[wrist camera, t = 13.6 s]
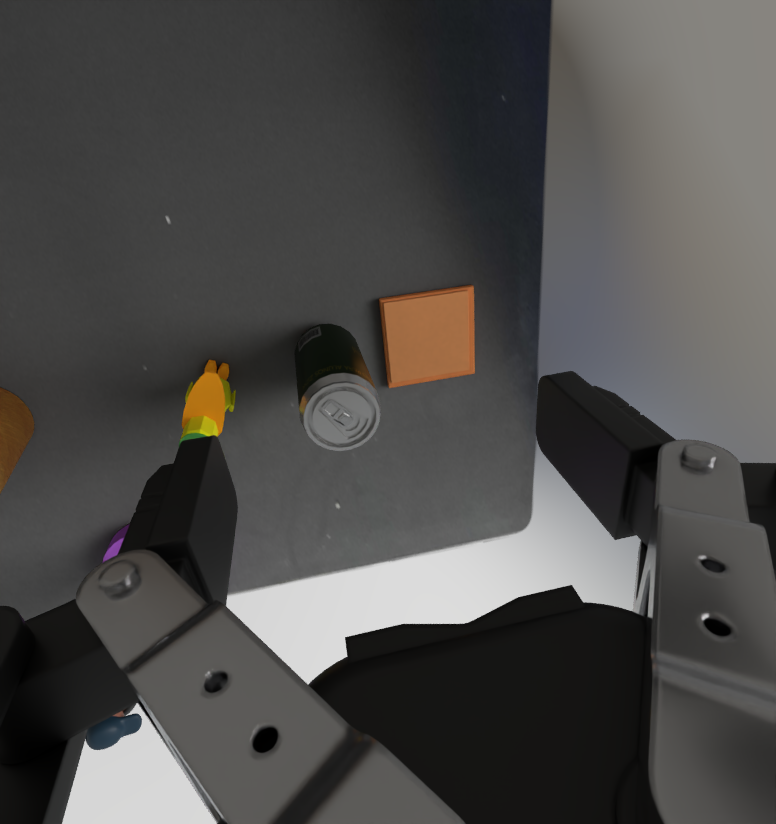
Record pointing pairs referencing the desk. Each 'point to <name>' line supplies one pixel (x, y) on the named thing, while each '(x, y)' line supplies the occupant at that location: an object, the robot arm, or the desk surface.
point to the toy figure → (207, 403)
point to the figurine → (120, 723)
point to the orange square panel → (428, 335)
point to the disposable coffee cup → (12, 432)
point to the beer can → (335, 389)
